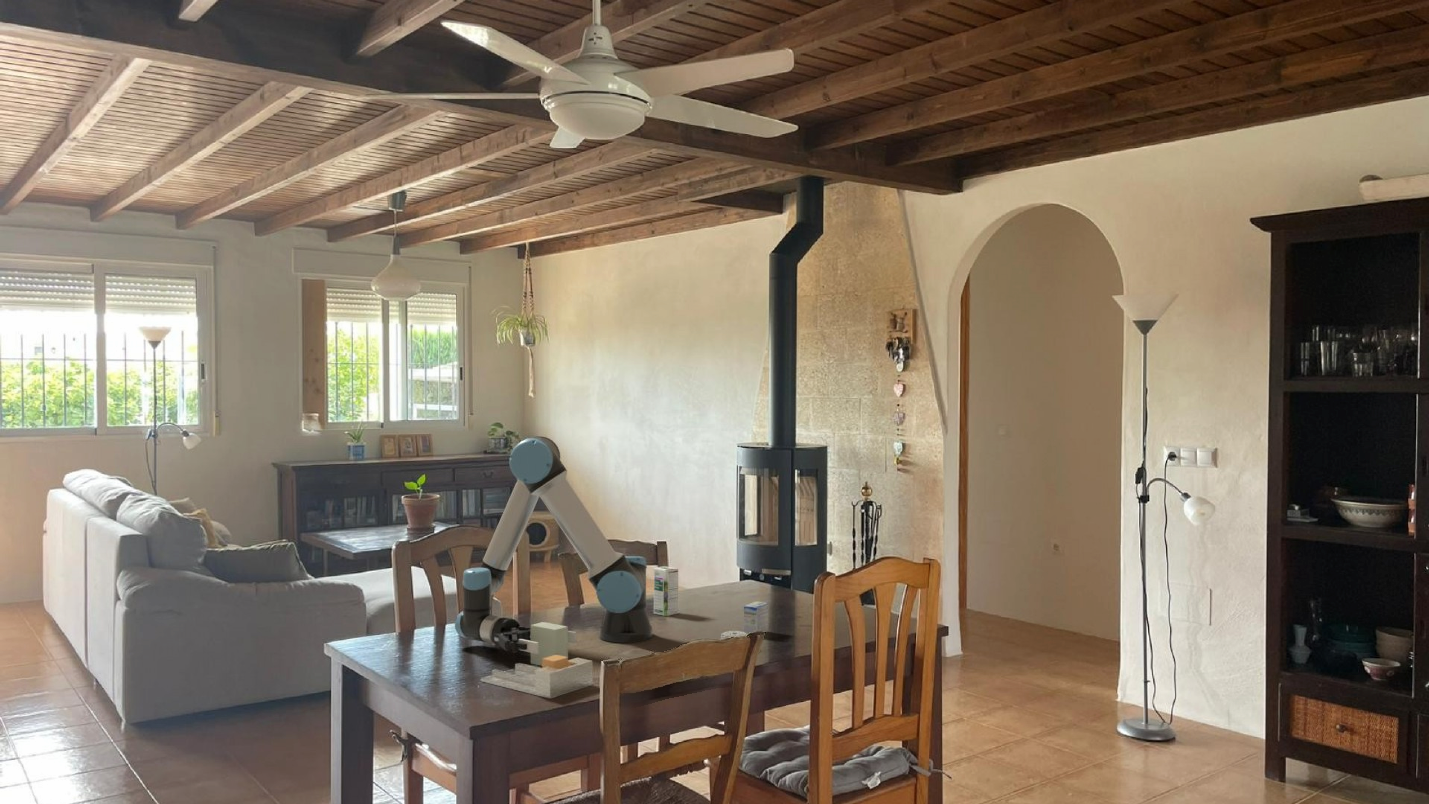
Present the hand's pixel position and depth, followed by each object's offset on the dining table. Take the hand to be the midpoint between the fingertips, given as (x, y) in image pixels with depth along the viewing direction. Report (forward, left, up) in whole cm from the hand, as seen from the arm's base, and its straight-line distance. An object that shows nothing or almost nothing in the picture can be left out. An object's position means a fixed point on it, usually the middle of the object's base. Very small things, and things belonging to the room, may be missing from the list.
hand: (557, 642), depth 271 cm
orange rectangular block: (+14, +14, -5) cm, 20 cm away
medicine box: (-59, +21, -6) cm, 63 cm away
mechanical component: (-42, +26, -6) cm, 50 cm away
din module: (0, -3, -6) cm, 7 cm away
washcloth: (-14, +17, -7) cm, 23 cm away
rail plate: (+14, +7, -6) cm, 17 cm away
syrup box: (-64, -17, -6) cm, 67 cm away
